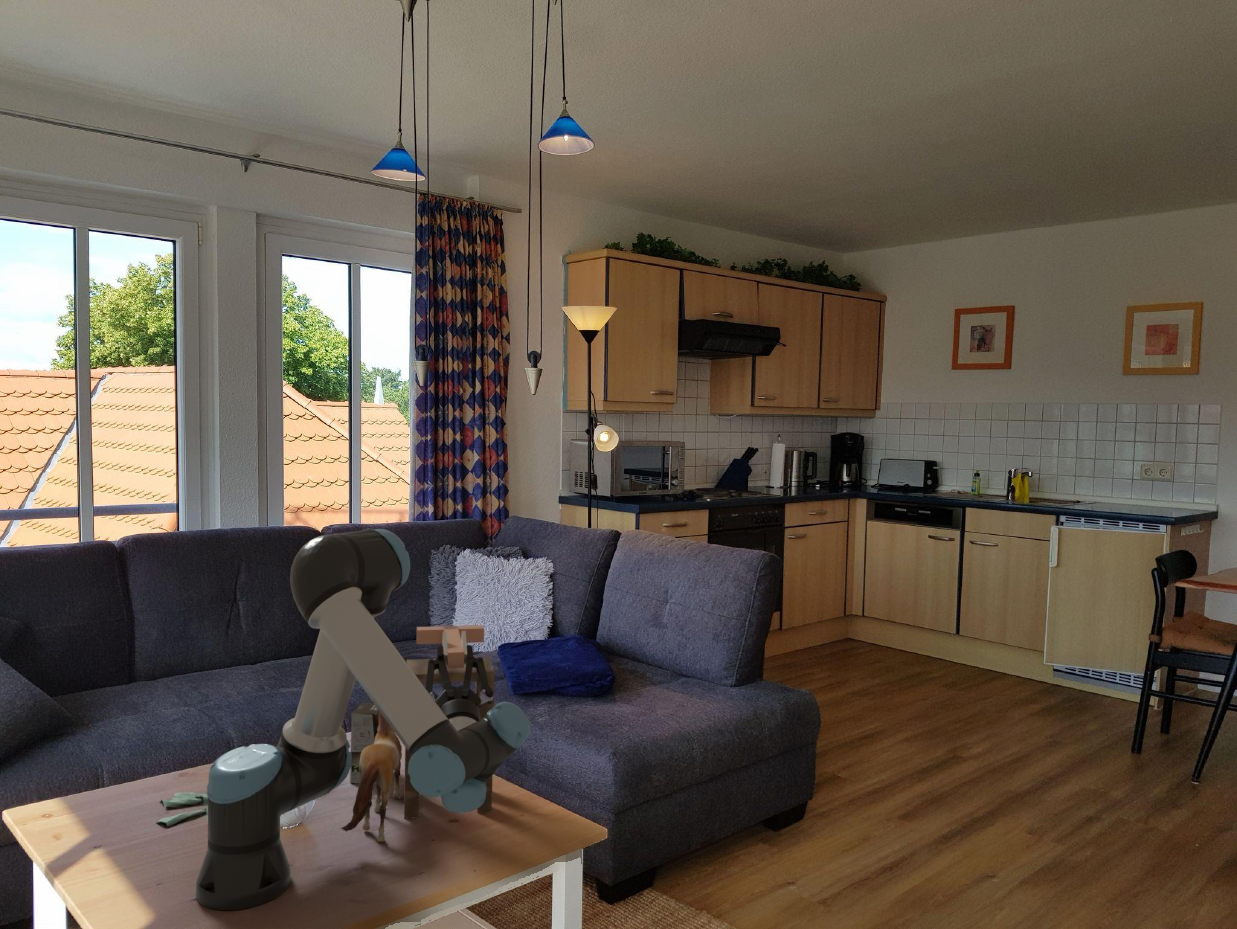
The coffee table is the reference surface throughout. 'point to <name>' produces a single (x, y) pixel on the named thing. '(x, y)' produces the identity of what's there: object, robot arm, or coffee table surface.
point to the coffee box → (362, 735)
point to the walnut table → (458, 676)
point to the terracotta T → (451, 640)
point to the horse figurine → (377, 776)
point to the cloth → (184, 801)
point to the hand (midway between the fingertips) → (454, 636)
